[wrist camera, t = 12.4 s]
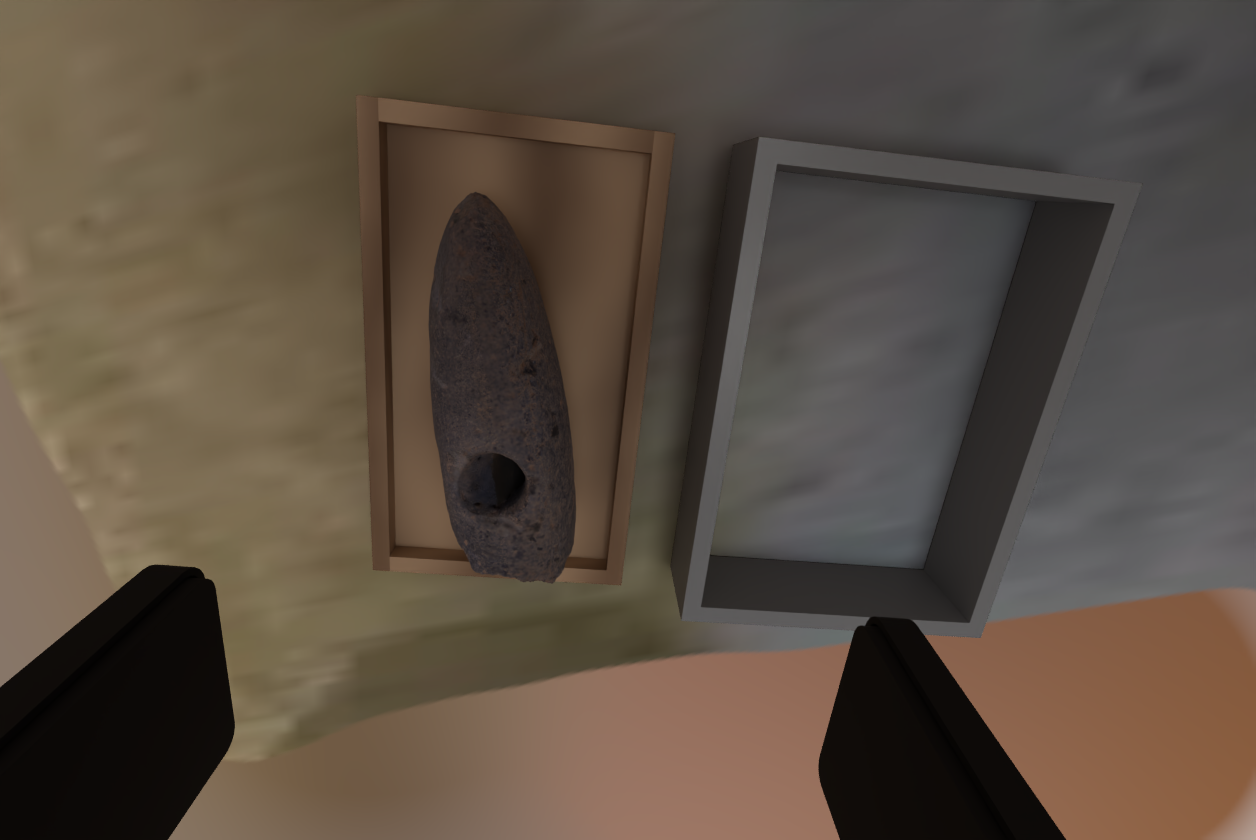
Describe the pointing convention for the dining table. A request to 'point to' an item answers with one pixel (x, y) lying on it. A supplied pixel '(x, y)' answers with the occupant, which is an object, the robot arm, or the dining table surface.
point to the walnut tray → (570, 289)
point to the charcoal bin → (997, 430)
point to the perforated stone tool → (499, 401)
